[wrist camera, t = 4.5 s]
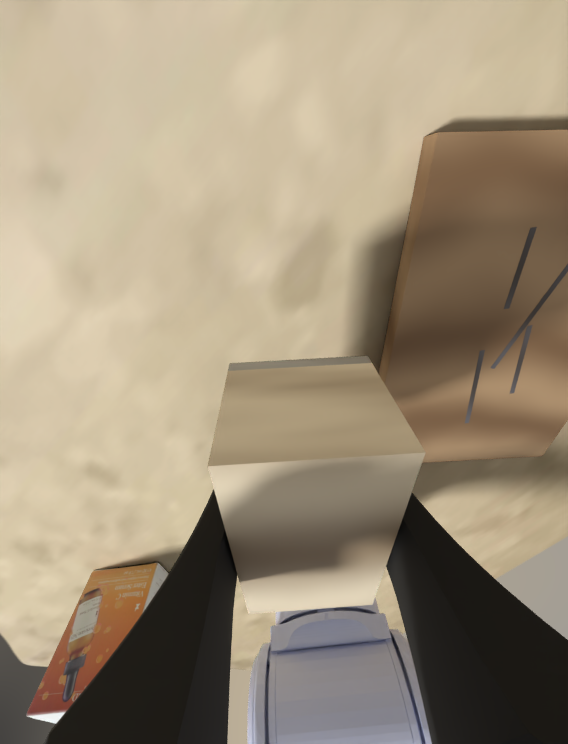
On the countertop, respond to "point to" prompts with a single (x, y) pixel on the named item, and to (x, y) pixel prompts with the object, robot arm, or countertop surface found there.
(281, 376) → the block
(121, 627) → the small box
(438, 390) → the oak board
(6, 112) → the countertop surface
